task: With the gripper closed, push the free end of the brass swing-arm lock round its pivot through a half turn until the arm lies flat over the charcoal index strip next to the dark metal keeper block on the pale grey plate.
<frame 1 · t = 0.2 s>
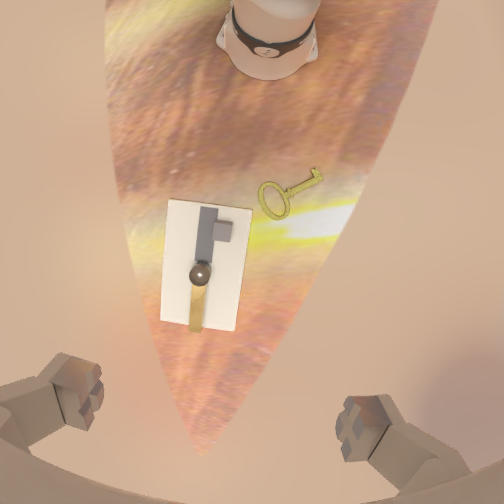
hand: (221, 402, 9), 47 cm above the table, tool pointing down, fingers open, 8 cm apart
swing arm: (198, 298, 55), point 3 cm above the table, hinge at 0.0°
key: (288, 192, 55), on the table
lock plate: (203, 267, 57), on the table
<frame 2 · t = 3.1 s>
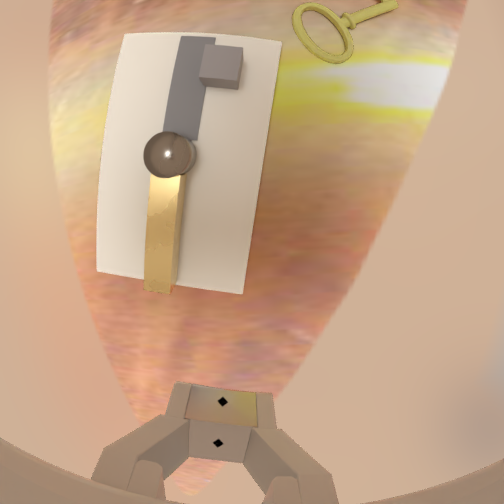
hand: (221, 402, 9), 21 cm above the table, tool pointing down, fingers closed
swing arm: (164, 213, 25), point 3 cm above the table, hinge at 0.0°
key: (344, 24, 23), on the table
lock plate: (180, 155, 26), on the table
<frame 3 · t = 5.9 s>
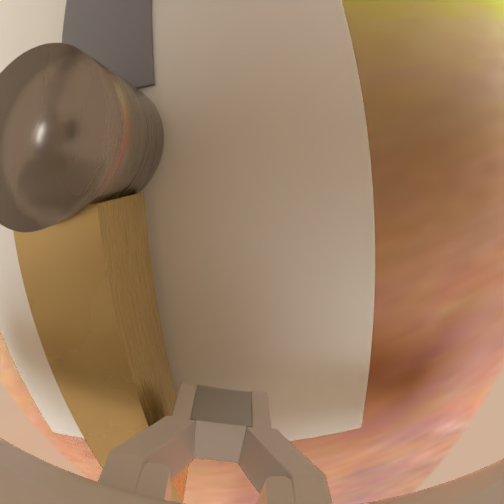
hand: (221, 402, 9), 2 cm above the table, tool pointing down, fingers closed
swing arm: (100, 333, 7), point 3 cm above the table, hinge at 4.3°, touching gripper
lock plate: (124, 147, 9), on the table
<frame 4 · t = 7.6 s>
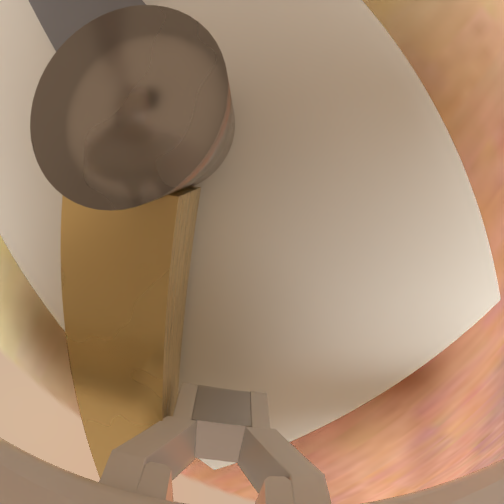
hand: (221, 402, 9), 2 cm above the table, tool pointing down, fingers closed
swing arm: (127, 322, 7), point 3 cm above the table, hinge at 44.3°, touching gripper
lock plate: (179, 133, 9), on the table
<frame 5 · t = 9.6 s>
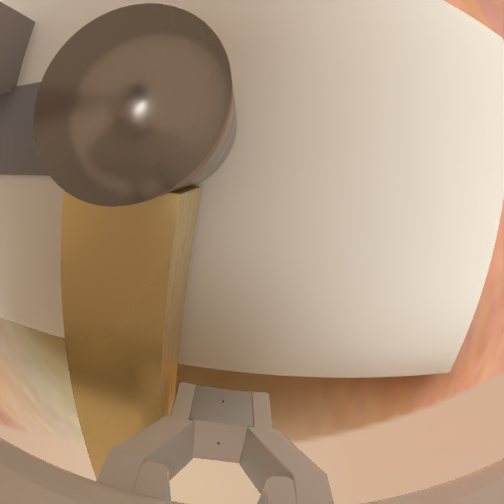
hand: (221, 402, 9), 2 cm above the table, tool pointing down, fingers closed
swing arm: (126, 320, 7), point 3 cm above the table, hinge at 93.2°, touching gripper
lock plate: (181, 132, 9), on the table
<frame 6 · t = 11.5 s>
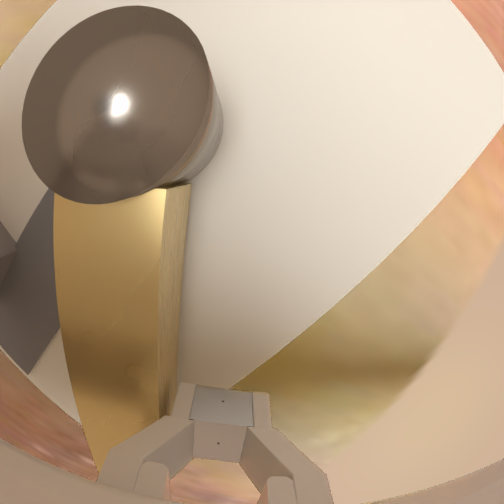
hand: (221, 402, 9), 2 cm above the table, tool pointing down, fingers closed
swing arm: (122, 319, 7), point 3 cm above the table, hinge at 142.0°, touching gripper
lock plate: (170, 132, 9), on the table
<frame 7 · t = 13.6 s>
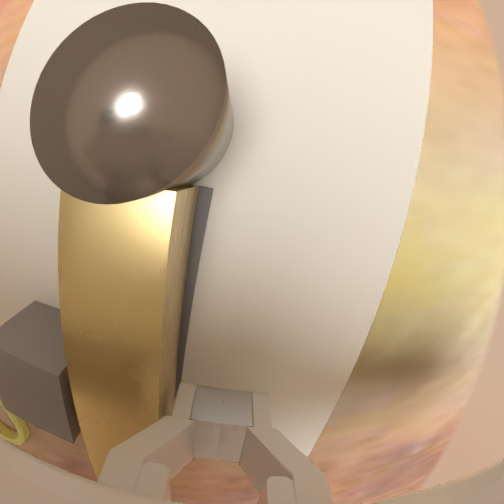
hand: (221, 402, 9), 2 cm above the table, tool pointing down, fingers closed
swing arm: (124, 320, 7), point 3 cm above the table, hinge at 178.1°, touching gripper
lock plate: (178, 132, 9), on the table
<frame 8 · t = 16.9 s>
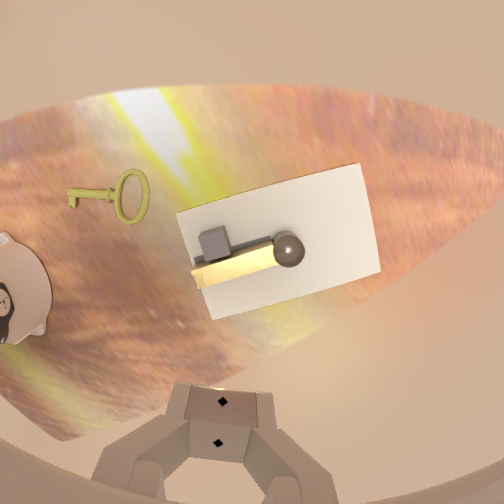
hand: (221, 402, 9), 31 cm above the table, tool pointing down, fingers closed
swing arm: (248, 260, 37), point 3 cm above the table, hinge at 178.2°
key: (112, 195, 38), on the table
lock plate: (283, 241, 39), on the table
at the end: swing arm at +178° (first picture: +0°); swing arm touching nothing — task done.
